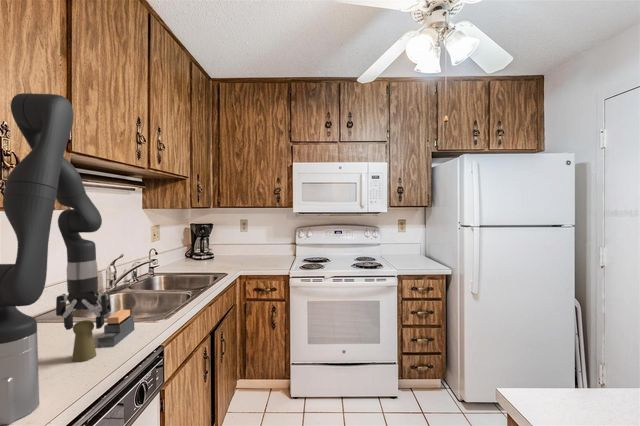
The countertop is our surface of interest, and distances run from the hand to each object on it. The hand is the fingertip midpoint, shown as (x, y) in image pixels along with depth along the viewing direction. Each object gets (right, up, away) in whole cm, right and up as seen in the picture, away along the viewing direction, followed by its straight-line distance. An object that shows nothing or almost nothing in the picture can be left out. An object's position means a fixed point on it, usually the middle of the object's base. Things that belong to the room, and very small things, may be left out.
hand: (84, 328), depth 100 cm
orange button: (+1, -2, +15) cm, 16 cm away
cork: (0, -9, 0) cm, 9 cm away
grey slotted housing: (+1, -8, +14) cm, 16 cm away
